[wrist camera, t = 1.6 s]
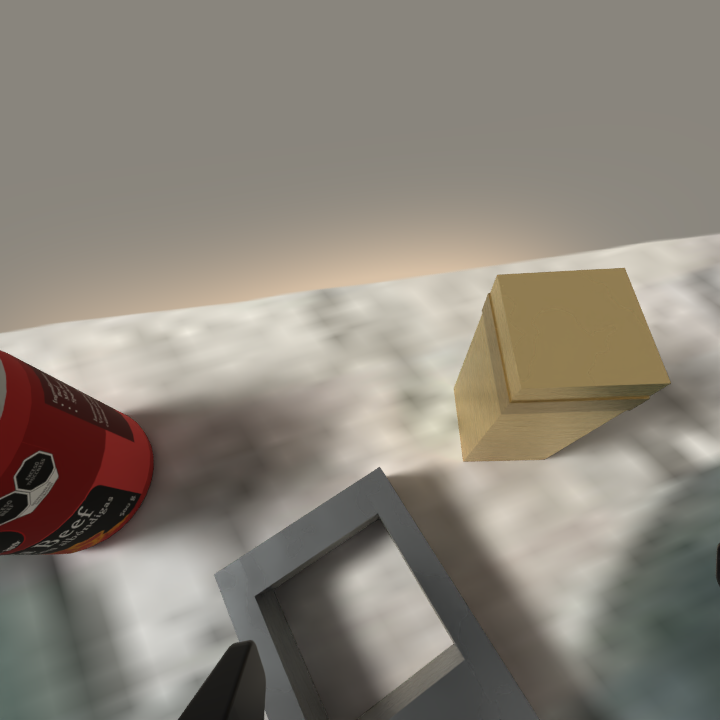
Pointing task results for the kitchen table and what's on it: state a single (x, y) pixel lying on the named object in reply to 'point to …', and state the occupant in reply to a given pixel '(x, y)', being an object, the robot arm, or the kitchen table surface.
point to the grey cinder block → (471, 645)
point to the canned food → (64, 464)
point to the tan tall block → (553, 363)
